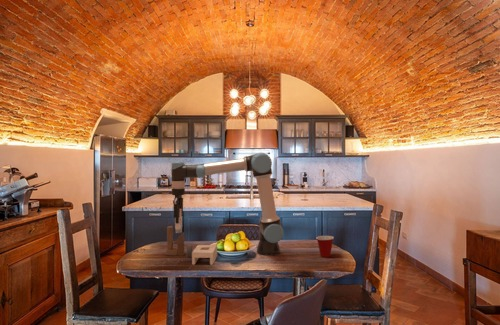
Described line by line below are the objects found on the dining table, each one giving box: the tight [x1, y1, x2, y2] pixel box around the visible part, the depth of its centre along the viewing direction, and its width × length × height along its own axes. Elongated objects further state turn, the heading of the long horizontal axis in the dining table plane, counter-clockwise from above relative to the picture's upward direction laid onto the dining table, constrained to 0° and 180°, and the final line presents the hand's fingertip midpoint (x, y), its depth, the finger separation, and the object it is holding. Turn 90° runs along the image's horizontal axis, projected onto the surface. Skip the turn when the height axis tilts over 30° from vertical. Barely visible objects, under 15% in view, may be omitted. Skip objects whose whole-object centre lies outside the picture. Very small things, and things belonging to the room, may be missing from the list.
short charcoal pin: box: [186, 244, 194, 258], centre depth 200 cm, size 4×4×7 cm
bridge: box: [191, 244, 218, 266], centre depth 192 cm, size 12×16×7 cm
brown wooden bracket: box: [165, 225, 185, 257], centre depth 203 cm, size 4×11×18 cm, turn 85°
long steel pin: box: [175, 208, 183, 234], centre depth 188 cm, size 4×4×14 cm
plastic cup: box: [315, 235, 334, 258], centre depth 199 cm, size 11×11×12 cm
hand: (178, 227), depth 188 cm, fingers closed on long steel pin, 3 cm apart
